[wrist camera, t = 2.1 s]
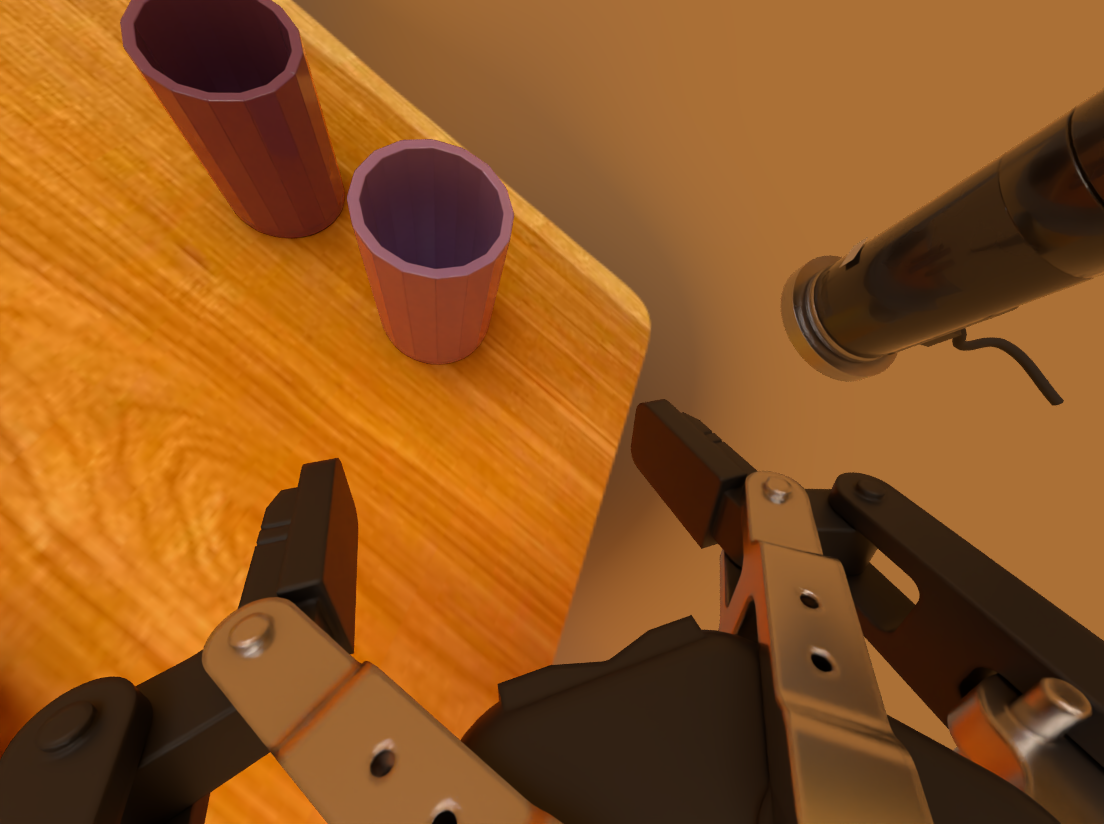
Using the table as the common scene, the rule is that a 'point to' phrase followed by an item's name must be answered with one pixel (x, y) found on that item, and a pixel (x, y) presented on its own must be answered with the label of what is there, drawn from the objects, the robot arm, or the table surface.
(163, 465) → the table surface
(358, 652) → the table surface
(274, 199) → the plum cup
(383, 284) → the lilac cup
